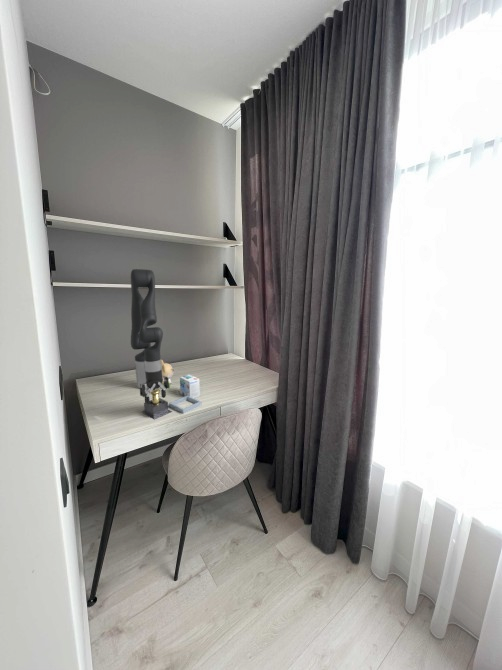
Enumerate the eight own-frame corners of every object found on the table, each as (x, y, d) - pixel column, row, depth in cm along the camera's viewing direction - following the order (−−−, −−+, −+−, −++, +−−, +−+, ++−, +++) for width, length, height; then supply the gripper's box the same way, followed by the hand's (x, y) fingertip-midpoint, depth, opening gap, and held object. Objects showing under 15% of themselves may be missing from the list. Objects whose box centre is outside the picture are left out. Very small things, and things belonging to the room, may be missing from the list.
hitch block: (140, 413, 134) (139, 402, 133) (158, 406, 141) (158, 395, 140) (154, 421, 126) (153, 409, 125) (172, 413, 134) (171, 402, 133)
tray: (169, 408, 139) (169, 403, 139) (187, 400, 148) (187, 395, 148) (183, 415, 132) (183, 409, 132) (201, 406, 141) (201, 401, 140)
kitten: (176, 387, 167) (175, 363, 163) (159, 390, 162) (158, 366, 159) (171, 379, 180) (170, 357, 176) (156, 381, 175) (154, 359, 172)
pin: (150, 412, 133) (148, 391, 131) (158, 408, 137) (156, 388, 134) (155, 414, 131) (153, 393, 129) (162, 411, 134) (161, 390, 132)
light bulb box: (180, 394, 156) (179, 376, 154) (190, 391, 161) (189, 373, 159) (190, 400, 149) (189, 381, 146) (200, 396, 153) (199, 378, 151)
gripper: (162, 363, 137) (164, 393, 140) (135, 370, 126) (138, 403, 129) (170, 366, 132) (172, 397, 136) (143, 374, 121) (146, 407, 125)
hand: (155, 400), depth 133 cm, fingers open, 8 cm apart
